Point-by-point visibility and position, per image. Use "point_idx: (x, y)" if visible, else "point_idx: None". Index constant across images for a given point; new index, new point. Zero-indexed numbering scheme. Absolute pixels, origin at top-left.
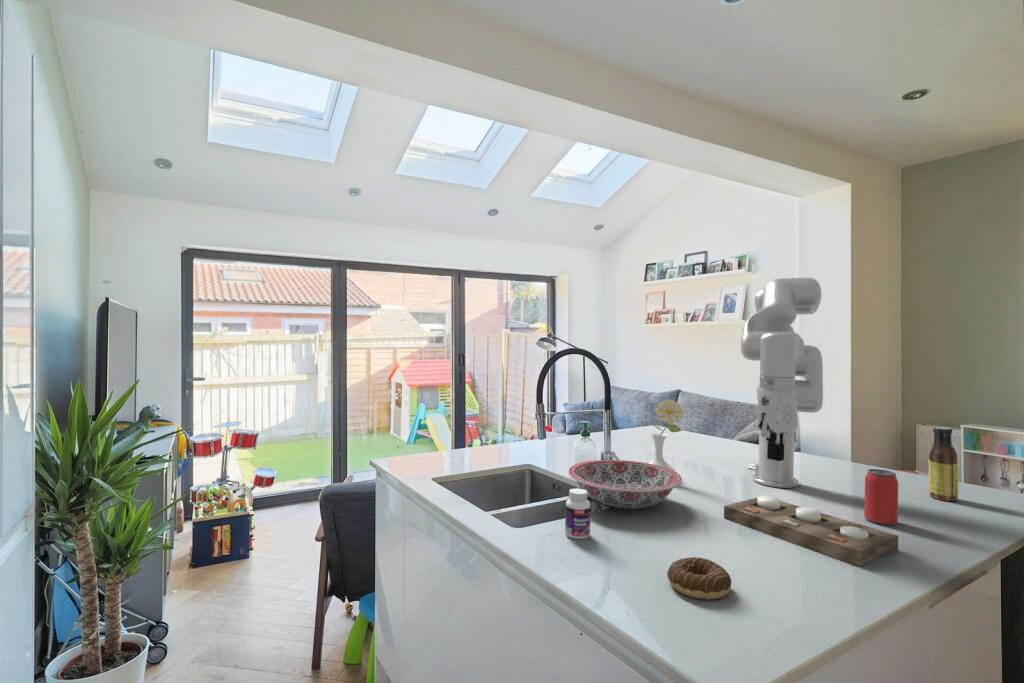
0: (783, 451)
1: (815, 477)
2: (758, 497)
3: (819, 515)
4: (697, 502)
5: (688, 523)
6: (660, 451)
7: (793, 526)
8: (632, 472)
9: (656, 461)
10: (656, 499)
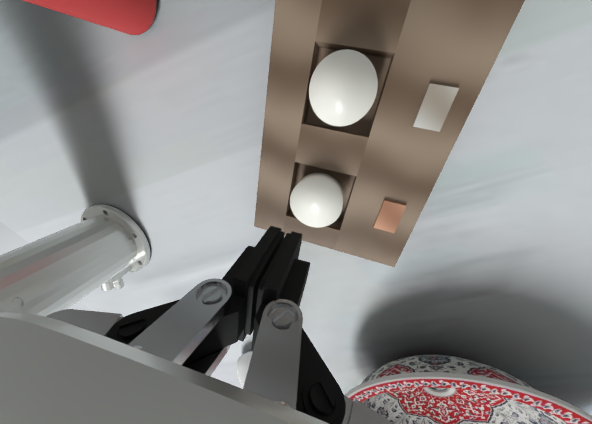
0: (260, 249)
1: (35, 197)
2: (321, 225)
3: (352, 51)
4: (333, 303)
5: (478, 289)
6: None
7: (456, 92)
8: None
9: None
10: (502, 372)
